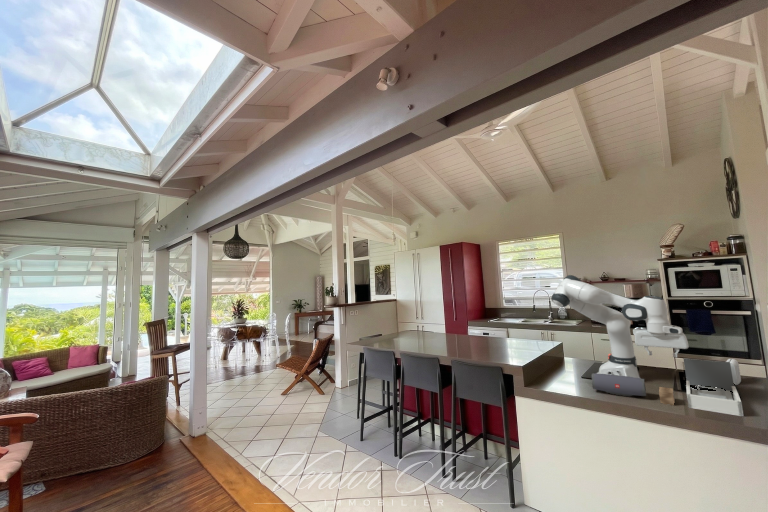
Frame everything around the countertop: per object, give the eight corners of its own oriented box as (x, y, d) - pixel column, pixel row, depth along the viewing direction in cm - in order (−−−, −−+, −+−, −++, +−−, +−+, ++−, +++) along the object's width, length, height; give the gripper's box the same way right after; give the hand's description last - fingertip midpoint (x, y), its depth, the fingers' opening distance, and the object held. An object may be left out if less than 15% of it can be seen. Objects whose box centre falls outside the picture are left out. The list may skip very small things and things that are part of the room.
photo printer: (730, 379, 174) (727, 356, 175) (742, 380, 170) (738, 357, 171) (726, 384, 168) (723, 360, 169) (738, 385, 164) (734, 362, 165)
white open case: (688, 400, 154) (683, 369, 154) (687, 385, 170) (683, 357, 171) (740, 407, 142) (735, 374, 143) (734, 391, 158) (729, 361, 159)
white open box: (688, 407, 147) (686, 394, 147) (687, 392, 162) (686, 380, 163) (743, 416, 135) (741, 402, 135) (737, 399, 151) (735, 386, 151)
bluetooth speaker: (593, 393, 171) (590, 375, 172) (594, 388, 178) (592, 370, 179) (646, 401, 156) (644, 381, 157) (646, 394, 164) (643, 375, 164)
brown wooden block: (660, 403, 153) (658, 391, 153) (661, 398, 158) (659, 386, 158) (674, 405, 150) (672, 393, 150) (674, 400, 155) (672, 388, 155)
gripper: (631, 328, 162) (635, 355, 161) (685, 330, 147) (690, 360, 146) (633, 326, 166) (637, 352, 165) (686, 328, 152) (690, 356, 151)
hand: (662, 356), depth 156 cm, fingers open, 8 cm apart
